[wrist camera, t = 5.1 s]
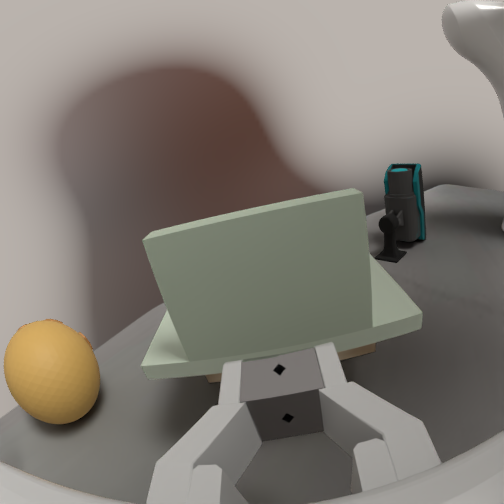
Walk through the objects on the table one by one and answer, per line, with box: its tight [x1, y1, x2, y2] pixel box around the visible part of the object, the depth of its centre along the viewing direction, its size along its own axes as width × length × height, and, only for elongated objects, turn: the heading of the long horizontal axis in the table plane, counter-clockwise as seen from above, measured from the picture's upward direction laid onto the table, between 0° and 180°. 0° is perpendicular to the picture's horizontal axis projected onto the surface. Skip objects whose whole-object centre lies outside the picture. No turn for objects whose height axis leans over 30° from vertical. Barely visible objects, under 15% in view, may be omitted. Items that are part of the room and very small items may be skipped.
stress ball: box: [4, 319, 100, 424], centre depth 21 cm, size 10×10×10 cm
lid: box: [141, 188, 423, 379], centre depth 19 cm, size 15×14×7 cm
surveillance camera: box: [375, 164, 426, 263], centre depth 40 cm, size 6×12×10 cm
